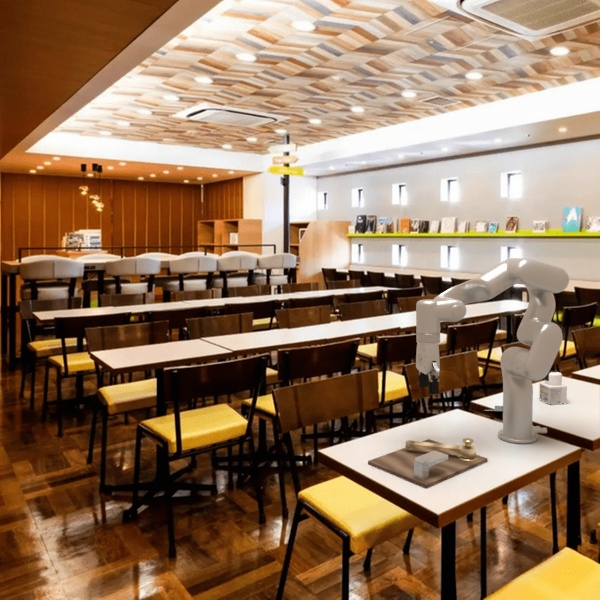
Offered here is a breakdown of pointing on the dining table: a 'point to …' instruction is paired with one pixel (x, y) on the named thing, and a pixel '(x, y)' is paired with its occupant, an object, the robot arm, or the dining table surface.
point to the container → (553, 389)
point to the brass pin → (468, 445)
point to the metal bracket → (496, 408)
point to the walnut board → (404, 467)
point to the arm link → (442, 448)
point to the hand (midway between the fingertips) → (428, 389)
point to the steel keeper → (427, 463)
